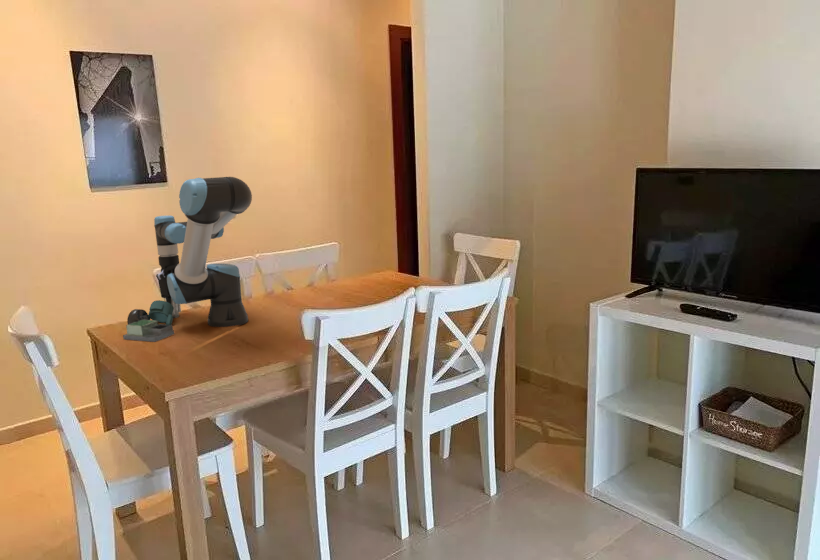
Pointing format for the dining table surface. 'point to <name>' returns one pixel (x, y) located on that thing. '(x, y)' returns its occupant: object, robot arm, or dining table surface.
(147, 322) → the grey base plate
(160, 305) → the dark teal rounded block
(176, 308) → the pin
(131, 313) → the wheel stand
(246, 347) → the dining table surface
